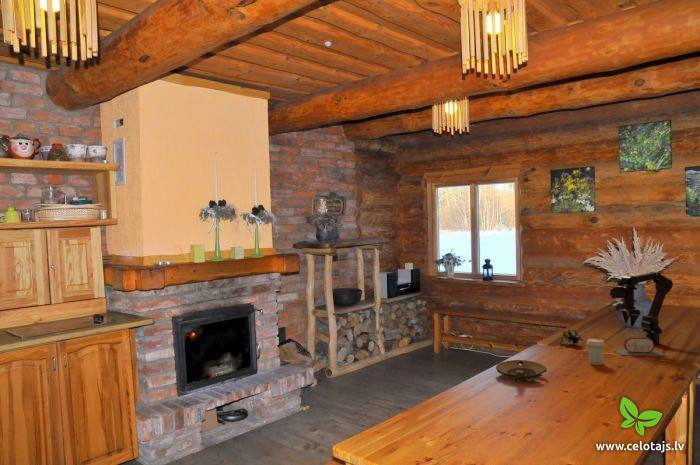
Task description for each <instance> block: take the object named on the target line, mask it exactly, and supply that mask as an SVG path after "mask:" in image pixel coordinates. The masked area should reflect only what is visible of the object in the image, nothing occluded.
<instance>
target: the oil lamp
mask: <svg viewBox="0 0 700 465" xmlns="http://www.w3.org/2000/svg"><path fill="white" fill-rule="evenodd" d="M504 361H505V362H504ZM504 361H502V362H499V363H497V364H496V366H495V370H496V372H498V373H499V374H501V375H502V376H504V377H507V378H509V379H512V380H515V381H517V382H520V383H521V382H524V381H529V380H534V379H537V378H540V377H542V376H543V374H544V373H546V372H547V371H548V369H547V367H546V366H545V365H544V364H541V363H539V362H534V361H532V360H527V359H526V360H523V359H522V360H521V359H513V360H504Z"/></svg>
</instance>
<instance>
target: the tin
mask: <svg viewBox="0 0 700 465" xmlns="http://www.w3.org/2000/svg"><path fill="white" fill-rule="evenodd" d="M622 346H623V349H626V350H628V351H629V352H635V353H649V352H651V351H652V350H655V349H654V348H655V344H654V342H653V341H652V340H651V339H650V338H648V337H645V336H628V337H626V338H625V339H624V340H623V345H622Z"/></svg>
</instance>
